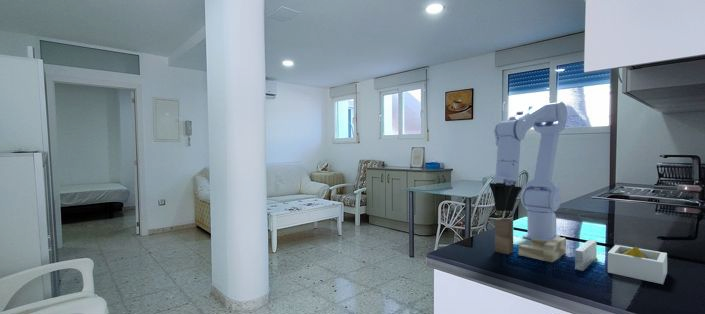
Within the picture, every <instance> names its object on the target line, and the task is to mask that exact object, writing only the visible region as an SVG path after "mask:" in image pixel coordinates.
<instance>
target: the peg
mask: <svg viewBox="0 0 705 314" xmlns="http://www.w3.org/2000/svg"><path fill="white" fill-rule="evenodd" d="M494 251H495V252H496V253H500V254H505V255H510V254H513V252H514V219H512V218H505V217H504V218H503V217H498V218H495V219H494Z"/></svg>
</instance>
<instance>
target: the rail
mask: <svg viewBox="0 0 705 314" xmlns="http://www.w3.org/2000/svg"><path fill="white" fill-rule="evenodd" d="M597 252H598V251H597V240H595V239H588V240H586V241H585V242H584V243H583V244H581V245H580V246H579V247H577V248H576V249H575V250H574V265H575V266H574V270H576V271H580V272H581V271H582V272H584V271H585V270H586V269H587V268H588V267H589V266H590V265H591V264H592V263H593V262H594V261H595V260H596V259H598V258H597V254H598V253H597Z"/></svg>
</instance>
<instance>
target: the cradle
mask: <svg viewBox="0 0 705 314" xmlns="http://www.w3.org/2000/svg"><path fill="white" fill-rule="evenodd" d="M566 253H567V239H566V237H561V236H560V237H556V238H554V239H553V240H551V241H546V240H541V239H535V238H533V239H530V245H527V244H520V245H518V256H522V257H526V258H530V259H534V260H539V261H545V262H549V263H554V262H556V261H557V260H558V259H559V258H561V257H562V256H563V255H565V254H566Z"/></svg>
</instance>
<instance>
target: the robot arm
mask: <svg viewBox="0 0 705 314" xmlns="http://www.w3.org/2000/svg"><path fill="white" fill-rule="evenodd" d="M567 109H568V108H567V105H566V104H565V103H564V102H563V101H558V102H552V103H551V102H550V103H543V104H542V103H541V104H532V105H530V106H528V110H527V111H524V110H519V111H517V112H516V114H515V115H514V116H513V115H512V116H510V117H509V118H508V119H507V120H502V121H499V122H498V123H497V124H496V125H495V127H494V130H493V131H494V137H495V144H496V146H497V151H496V167H495V175H494V176H491V177H490V179H491V180H494V183H492V182H490V183H489V187H490V189H491V193H492V195H493V202H494V207H495V211H500V212H506V211H507V212H513V210H514V207H515V204H516V201H517V198H518V196H519V195H520V203H521V204H522V206H523V207H524V210H526V211H527V212H526V213H527V214H526V215H527V218H526V219H527V233H526V234H524V235H522V238H525V239H530V240H531V239H533V238H535V239H541V240H546V241H551V240H553V239H554V238H556V237H561V236H560V234H557V216H556V213H555V212H556V211H557V210H558V209H559V208H560V206H561V189H560V188H559V186H558V185H557V184H556V183H554V181H552V179H553V178H552V177H553V173H554V167H555V161H556V155H557V149H558V143H559V137H560V133H561V132H563V131H564V130H565V128H566V125H567V120H568V110H567ZM532 128H533V130H534V131H535V132H536V133H539V134H540V135H541V136H540V141H539V148H538V153H537V157H536V165H535V170H534V175H533V178H532V179H531V180H529V181H528V182H526V183H524V187H522V186H517V185H518V183H519V181H520V178H519V169H520V155H521V141H523V140H524V139H525V138H526V134H527V133H528V131H530V130H531V129H532ZM522 189H523V190H522ZM520 193H521V194H520Z"/></svg>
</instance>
